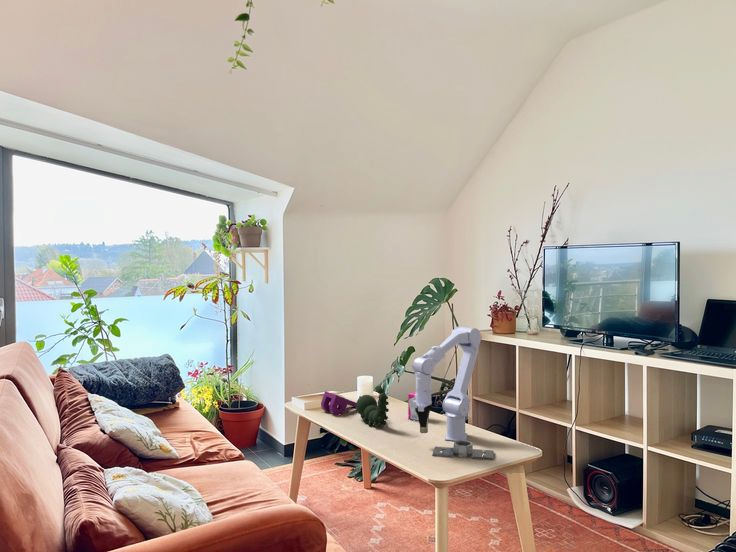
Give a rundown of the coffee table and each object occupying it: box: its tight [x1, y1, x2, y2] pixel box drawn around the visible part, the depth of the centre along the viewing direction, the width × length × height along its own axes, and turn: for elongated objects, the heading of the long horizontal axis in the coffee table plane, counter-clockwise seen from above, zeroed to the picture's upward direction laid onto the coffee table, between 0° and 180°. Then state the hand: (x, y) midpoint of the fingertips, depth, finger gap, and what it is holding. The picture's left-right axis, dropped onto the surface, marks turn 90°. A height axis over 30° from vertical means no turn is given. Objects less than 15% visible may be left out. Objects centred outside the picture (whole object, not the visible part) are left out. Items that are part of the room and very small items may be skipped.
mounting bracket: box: [320, 391, 357, 416], centre depth 266 cm, size 10×8×18 cm
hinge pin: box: [419, 418, 429, 434], centre depth 214 cm, size 3×3×8 cm
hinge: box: [432, 440, 495, 461], centre depth 206 cm, size 21×8×4 cm, turn 77°
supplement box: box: [407, 391, 419, 422], centre depth 251 cm, size 6×6×12 cm
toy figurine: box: [355, 385, 390, 427], centre depth 246 cm, size 9×19×25 cm
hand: (423, 425), depth 214 cm, fingers closed on hinge pin, 3 cm apart
